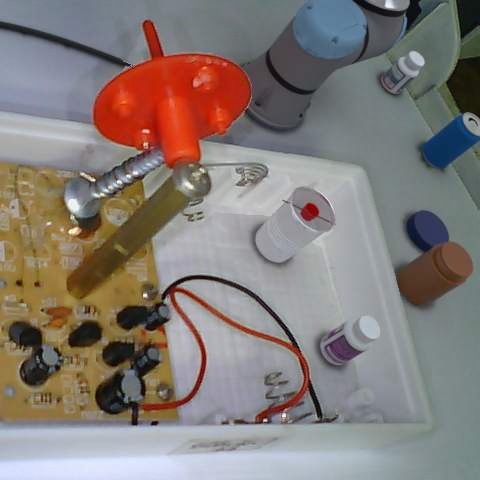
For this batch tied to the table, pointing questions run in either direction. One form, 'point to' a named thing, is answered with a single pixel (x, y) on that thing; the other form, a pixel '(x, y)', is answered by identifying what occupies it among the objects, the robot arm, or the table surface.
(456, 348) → the table surface
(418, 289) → the jar
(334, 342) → the pill bottle
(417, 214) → the lid
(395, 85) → the pill bottle
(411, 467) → the table surface
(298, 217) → the striped cup with float
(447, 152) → the beverage can
